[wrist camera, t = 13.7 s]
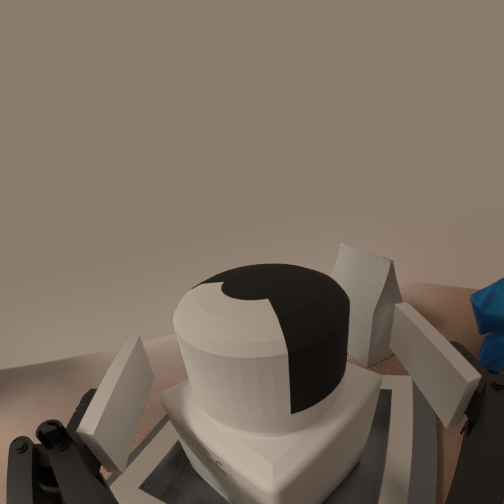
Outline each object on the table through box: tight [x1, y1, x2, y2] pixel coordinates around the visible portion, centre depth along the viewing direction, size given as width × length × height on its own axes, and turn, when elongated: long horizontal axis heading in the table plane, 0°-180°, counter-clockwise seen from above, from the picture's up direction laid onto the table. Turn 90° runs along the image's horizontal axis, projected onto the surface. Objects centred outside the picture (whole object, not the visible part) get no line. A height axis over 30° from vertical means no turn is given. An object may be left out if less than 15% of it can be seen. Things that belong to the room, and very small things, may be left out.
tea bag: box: [331, 243, 402, 368], centre depth 26 cm, size 4×7×10 cm, turn 21°
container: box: [160, 264, 382, 504], centre depth 12 cm, size 8×8×13 cm
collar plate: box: [106, 375, 437, 504], centre depth 14 cm, size 20×20×4 cm
